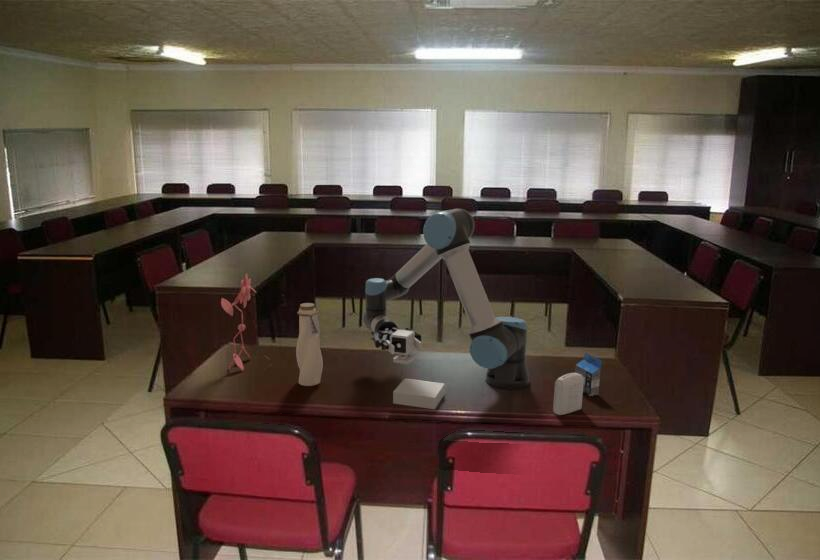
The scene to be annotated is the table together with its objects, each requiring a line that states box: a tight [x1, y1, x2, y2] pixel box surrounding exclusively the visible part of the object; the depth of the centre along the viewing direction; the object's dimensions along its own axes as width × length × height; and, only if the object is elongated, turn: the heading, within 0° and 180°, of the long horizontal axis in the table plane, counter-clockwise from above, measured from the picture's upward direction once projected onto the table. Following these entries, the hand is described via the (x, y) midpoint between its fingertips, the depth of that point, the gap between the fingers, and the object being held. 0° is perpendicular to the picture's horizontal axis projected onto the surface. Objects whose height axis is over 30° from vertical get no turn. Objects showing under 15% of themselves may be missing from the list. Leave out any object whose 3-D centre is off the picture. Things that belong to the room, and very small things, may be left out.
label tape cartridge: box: [574, 352, 603, 397], centre depth 208 cm, size 9×4×12 cm, turn 23°
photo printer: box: [552, 372, 584, 416], centre depth 193 cm, size 10×4×12 cm, turn 123°
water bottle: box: [295, 302, 324, 387], centre depth 212 cm, size 10×9×28 cm
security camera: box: [389, 328, 416, 365], centre depth 201 cm, size 6×7×10 cm
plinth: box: [392, 378, 446, 410], centre depth 202 cm, size 14×12×4 cm
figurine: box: [220, 272, 272, 376], centre depth 226 cm, size 15×26×35 cm, turn 178°
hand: (407, 348), depth 197 cm, fingers closed on security camera, 9 cm apart
